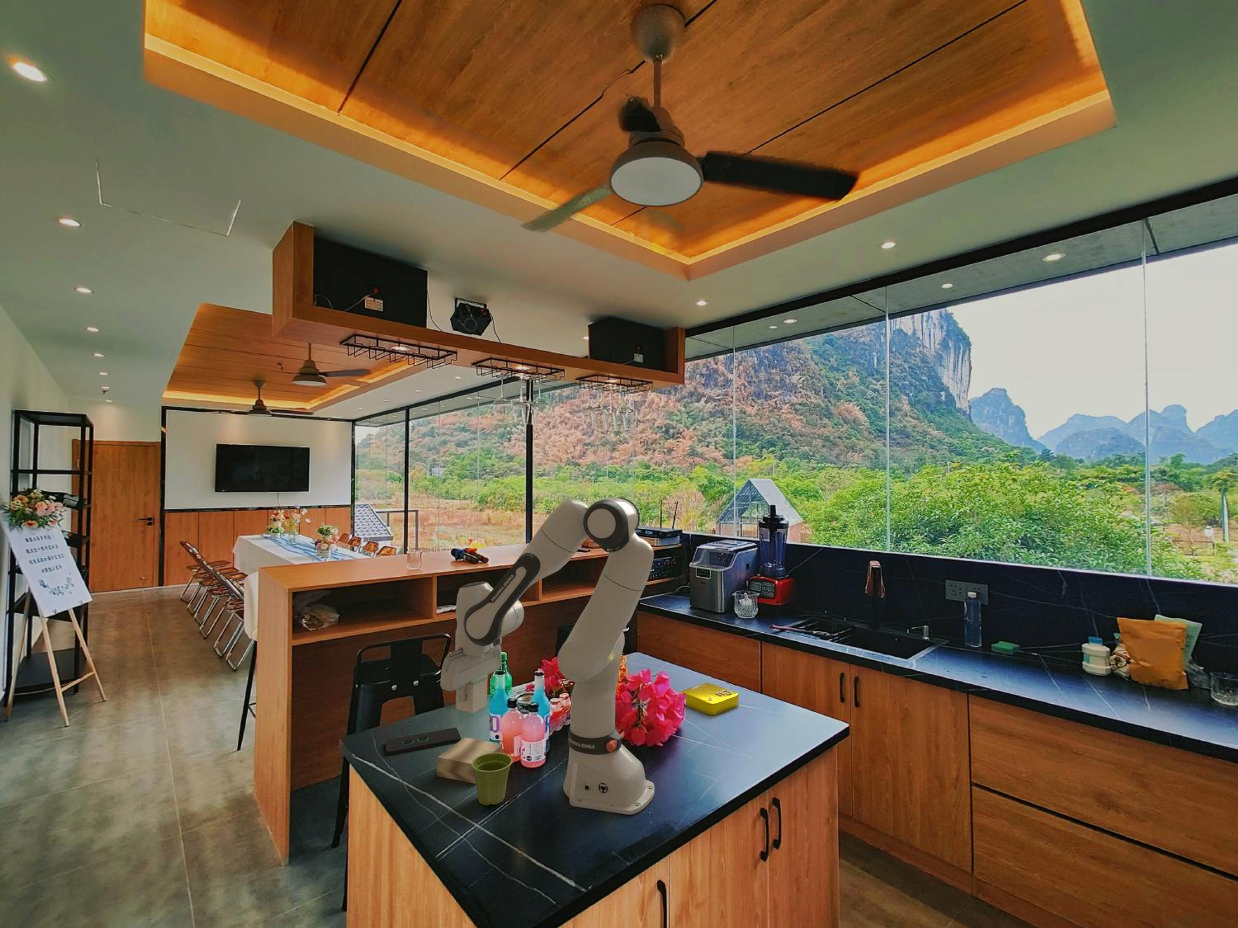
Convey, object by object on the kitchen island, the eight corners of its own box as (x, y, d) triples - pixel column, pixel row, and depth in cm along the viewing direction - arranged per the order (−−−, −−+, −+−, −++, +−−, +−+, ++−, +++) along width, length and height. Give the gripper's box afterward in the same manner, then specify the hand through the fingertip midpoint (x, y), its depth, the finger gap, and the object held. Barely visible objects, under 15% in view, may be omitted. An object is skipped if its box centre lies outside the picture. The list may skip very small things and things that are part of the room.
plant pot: (491, 784, 138) (491, 748, 138) (519, 795, 133) (520, 758, 134) (462, 802, 130) (463, 764, 130) (492, 814, 125) (492, 775, 126)
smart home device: (385, 739, 160) (456, 726, 168) (384, 745, 160) (456, 732, 168) (386, 751, 152) (461, 737, 161) (386, 757, 152) (461, 743, 161)
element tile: (707, 693, 201) (707, 680, 201) (741, 706, 189) (741, 691, 189) (678, 703, 191) (678, 689, 191) (712, 717, 180) (712, 702, 180)
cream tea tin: (487, 705, 148) (488, 674, 148) (472, 713, 142) (473, 681, 143) (470, 701, 150) (470, 671, 151) (454, 709, 145) (455, 678, 145)
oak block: (502, 762, 149) (502, 743, 150) (477, 785, 138) (477, 764, 138) (464, 755, 153) (464, 737, 154) (436, 776, 142) (437, 756, 142)
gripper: (454, 655, 136) (453, 713, 136) (505, 636, 155) (505, 686, 154) (434, 652, 139) (433, 708, 139) (487, 633, 158) (486, 682, 157)
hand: (471, 696), depth 147 cm, fingers closed on cream tea tin, 6 cm apart
